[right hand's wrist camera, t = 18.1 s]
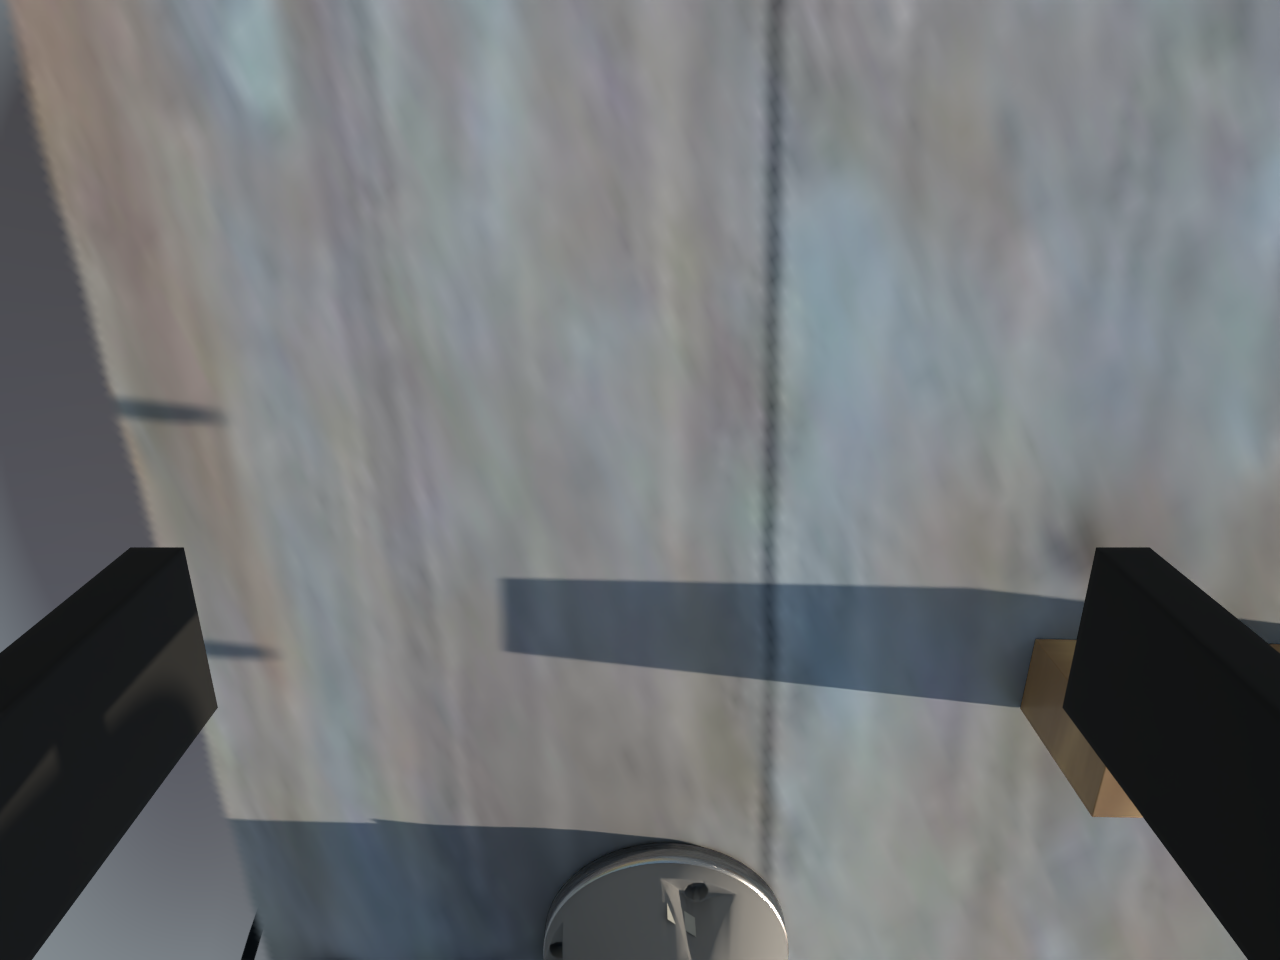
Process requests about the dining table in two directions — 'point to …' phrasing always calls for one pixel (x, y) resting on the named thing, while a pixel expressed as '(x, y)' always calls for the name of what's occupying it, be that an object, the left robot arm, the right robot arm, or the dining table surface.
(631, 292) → the dining table surface
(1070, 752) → the bar
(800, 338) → the dining table surface
